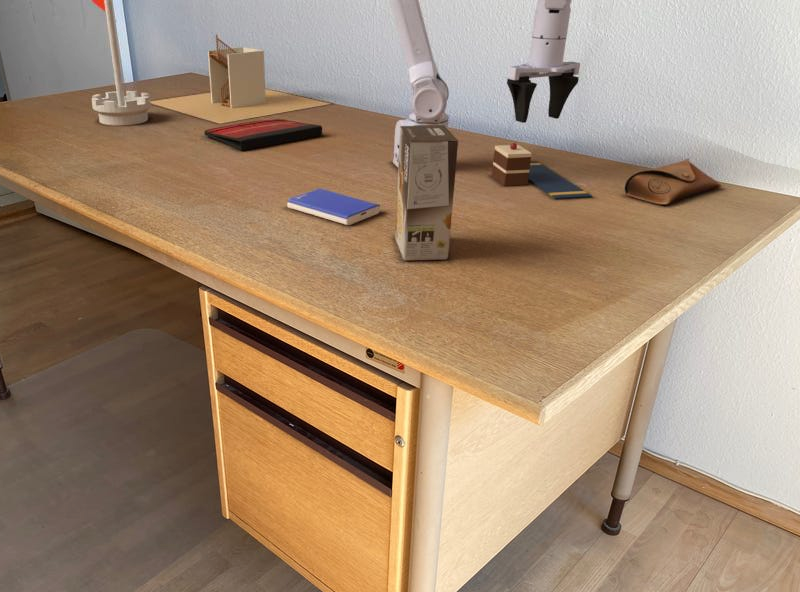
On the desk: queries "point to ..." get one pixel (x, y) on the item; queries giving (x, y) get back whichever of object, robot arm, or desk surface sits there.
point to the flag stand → (119, 87)
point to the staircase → (236, 89)
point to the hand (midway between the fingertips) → (537, 119)
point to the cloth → (553, 183)
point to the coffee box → (425, 191)
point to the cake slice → (511, 165)
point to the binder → (263, 133)
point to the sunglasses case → (669, 183)
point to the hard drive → (334, 206)
